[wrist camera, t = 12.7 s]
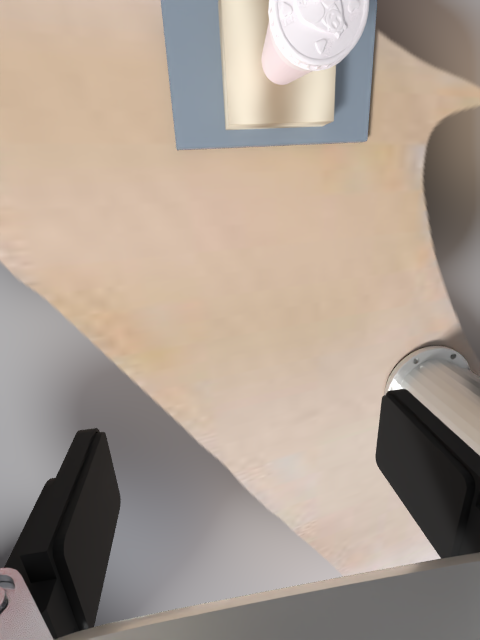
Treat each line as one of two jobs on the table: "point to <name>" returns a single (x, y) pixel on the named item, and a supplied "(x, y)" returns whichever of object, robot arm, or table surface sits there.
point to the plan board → (207, 85)
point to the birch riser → (253, 85)
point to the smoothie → (310, 36)
